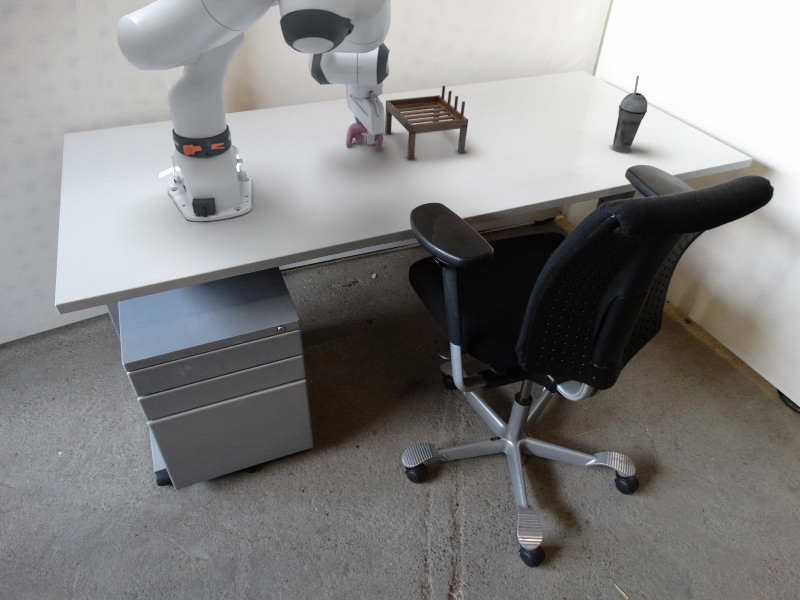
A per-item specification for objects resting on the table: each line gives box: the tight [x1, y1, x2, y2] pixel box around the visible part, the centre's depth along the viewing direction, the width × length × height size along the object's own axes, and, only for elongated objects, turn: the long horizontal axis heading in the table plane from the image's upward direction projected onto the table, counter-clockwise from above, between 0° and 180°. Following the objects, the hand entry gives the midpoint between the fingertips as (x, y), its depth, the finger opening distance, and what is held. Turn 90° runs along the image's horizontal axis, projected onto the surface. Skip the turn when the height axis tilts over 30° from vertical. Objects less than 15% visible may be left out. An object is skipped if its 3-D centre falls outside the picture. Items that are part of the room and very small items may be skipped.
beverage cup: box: [611, 75, 648, 154], centre depth 157 cm, size 7×7×20 cm
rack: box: [384, 85, 469, 161], centre depth 157 cm, size 18×16×13 cm
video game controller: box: [345, 122, 385, 151], centre depth 156 cm, size 10×5×7 cm, turn 85°
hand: (364, 136), depth 156 cm, fingers closed on video game controller, 7 cm apart
